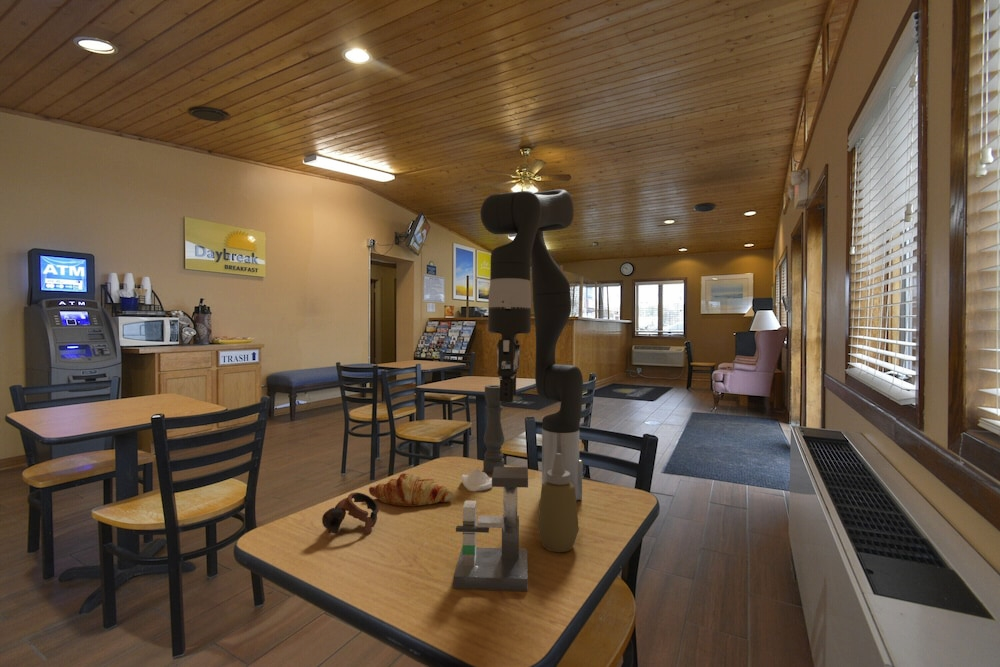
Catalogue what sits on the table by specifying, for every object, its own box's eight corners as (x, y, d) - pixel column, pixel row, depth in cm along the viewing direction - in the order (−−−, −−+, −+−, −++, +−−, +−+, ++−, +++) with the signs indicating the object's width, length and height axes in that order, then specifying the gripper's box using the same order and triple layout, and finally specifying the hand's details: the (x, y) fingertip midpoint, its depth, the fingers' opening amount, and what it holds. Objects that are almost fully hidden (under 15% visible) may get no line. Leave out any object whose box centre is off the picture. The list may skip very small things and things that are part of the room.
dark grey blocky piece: (527, 523, 82) (527, 467, 82) (527, 538, 76) (528, 478, 76) (480, 521, 83) (480, 466, 82) (477, 537, 77) (477, 477, 76)
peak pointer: (489, 530, 78) (489, 526, 78) (488, 532, 77) (488, 529, 77) (456, 529, 78) (456, 525, 78) (455, 531, 77) (455, 528, 77)
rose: (451, 469, 123) (476, 461, 131) (451, 486, 123) (476, 477, 131) (478, 478, 117) (503, 469, 124) (478, 495, 117) (503, 485, 124)
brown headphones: (347, 518, 103) (365, 487, 103) (372, 547, 98) (391, 514, 98) (303, 524, 93) (324, 490, 93) (329, 557, 88) (350, 521, 88)
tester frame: (527, 559, 84) (527, 494, 84) (527, 591, 74) (527, 517, 74) (461, 557, 85) (462, 493, 85) (453, 588, 75) (454, 515, 75)
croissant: (455, 511, 115) (458, 478, 118) (450, 507, 106) (453, 471, 109) (371, 507, 116) (377, 475, 119) (359, 502, 107) (366, 467, 110)
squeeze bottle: (552, 560, 84) (552, 462, 84) (529, 541, 91) (529, 451, 91) (587, 550, 88) (588, 456, 88) (562, 533, 95) (563, 446, 95)
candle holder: (505, 467, 139) (505, 385, 138) (503, 474, 132) (503, 388, 132) (484, 467, 139) (485, 384, 139) (481, 473, 133) (482, 387, 133)
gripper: (492, 308, 88) (491, 392, 88) (483, 303, 74) (481, 403, 74) (531, 309, 88) (530, 394, 88) (530, 303, 74) (528, 405, 73)
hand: (508, 398), depth 81 cm, fingers open, 8 cm apart
